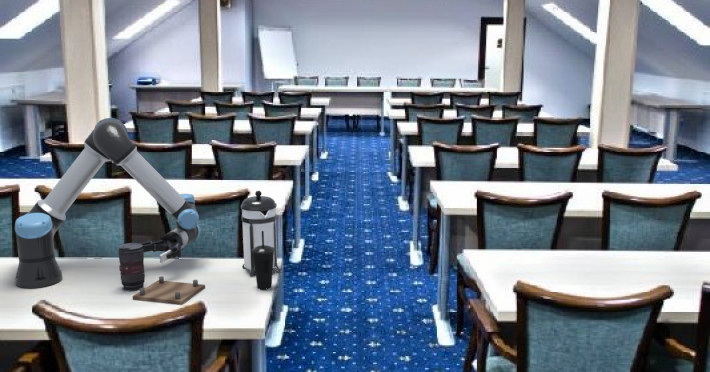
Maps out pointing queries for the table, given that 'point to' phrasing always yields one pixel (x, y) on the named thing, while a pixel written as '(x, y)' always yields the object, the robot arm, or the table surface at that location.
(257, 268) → the drinking cup
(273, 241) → the coffee press
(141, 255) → the camera lens
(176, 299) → the board
